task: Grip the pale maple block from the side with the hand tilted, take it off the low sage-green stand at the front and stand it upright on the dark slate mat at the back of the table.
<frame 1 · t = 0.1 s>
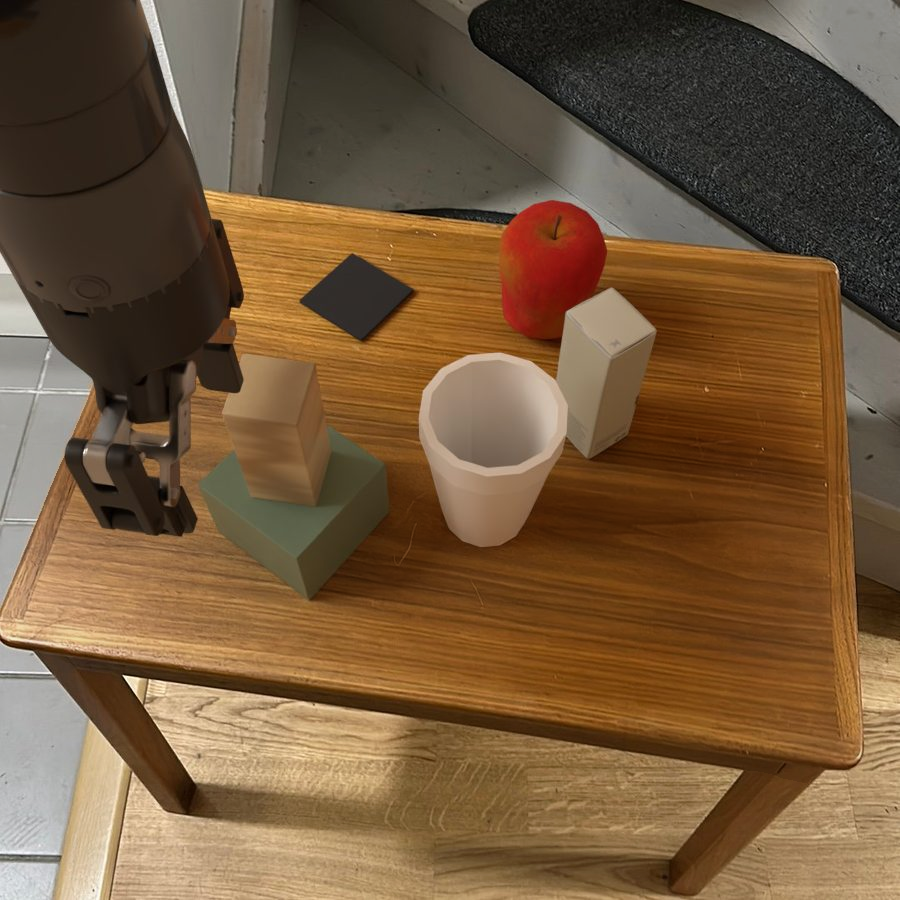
hand: (201, 453, 48), 20 cm above the table, tool pointing down, fingers open, 8 cm apart
stand: (304, 521, 68), on the table
block: (291, 473, 63), point 7 cm above the table, touching stand
box: (586, 427, 73), on the table
foam cup: (484, 510, 69), on the table
apple: (542, 319, 79), on the table
mat: (357, 297, 80), on the table
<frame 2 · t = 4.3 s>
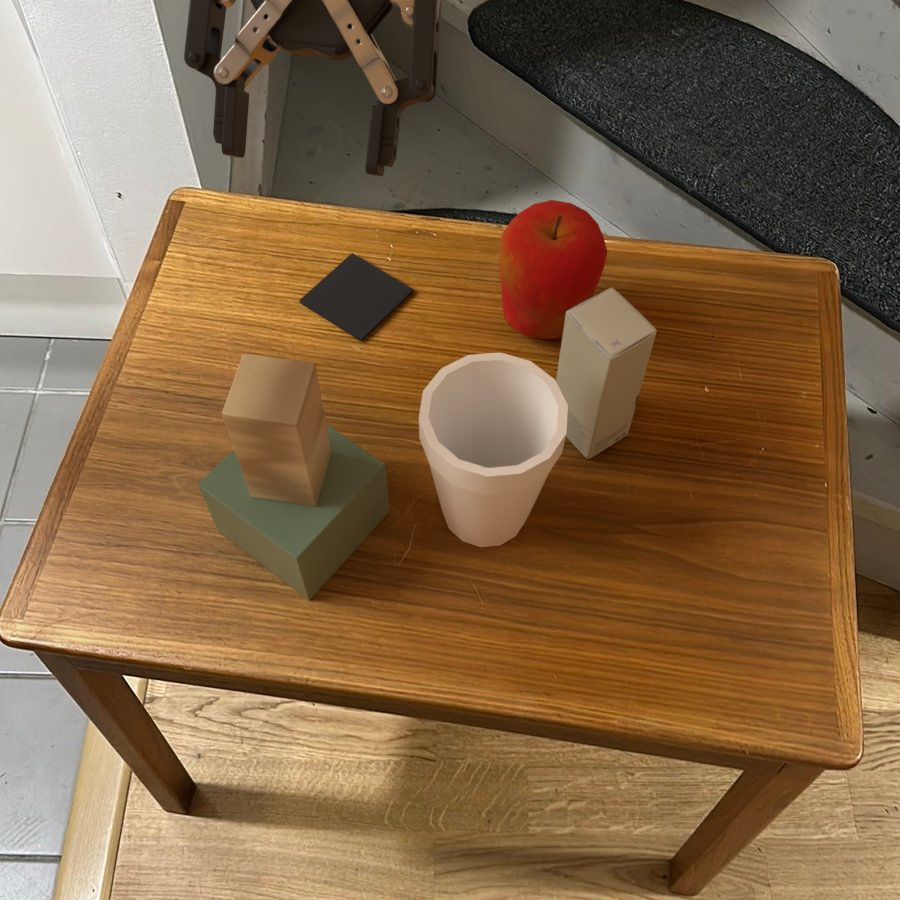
hand: (303, 165, 54), 24 cm above the table, tool tilted 45°, fingers open, 8 cm apart
nothing on the table moved.
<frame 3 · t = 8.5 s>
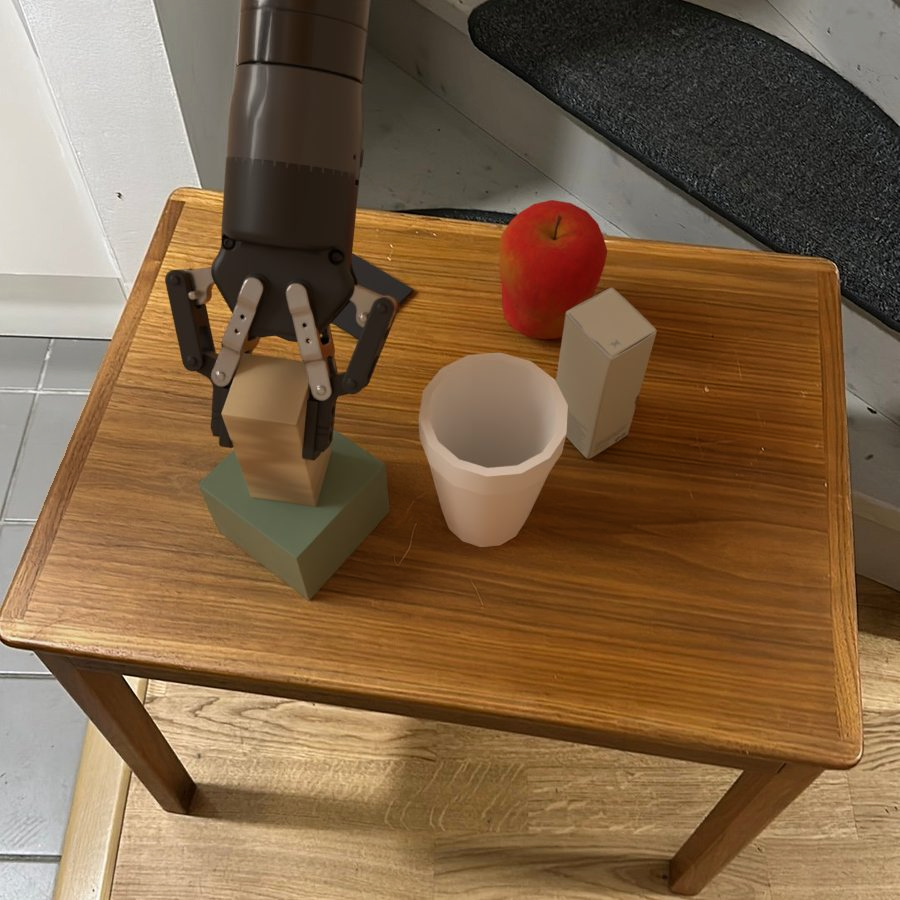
hand: (271, 449, 56), 13 cm above the table, tool tilted 45°, fingers closed on block, 4 cm apart
block: (291, 473, 63), point 7 cm above the table, touching gripper, stand
everything else where it was.
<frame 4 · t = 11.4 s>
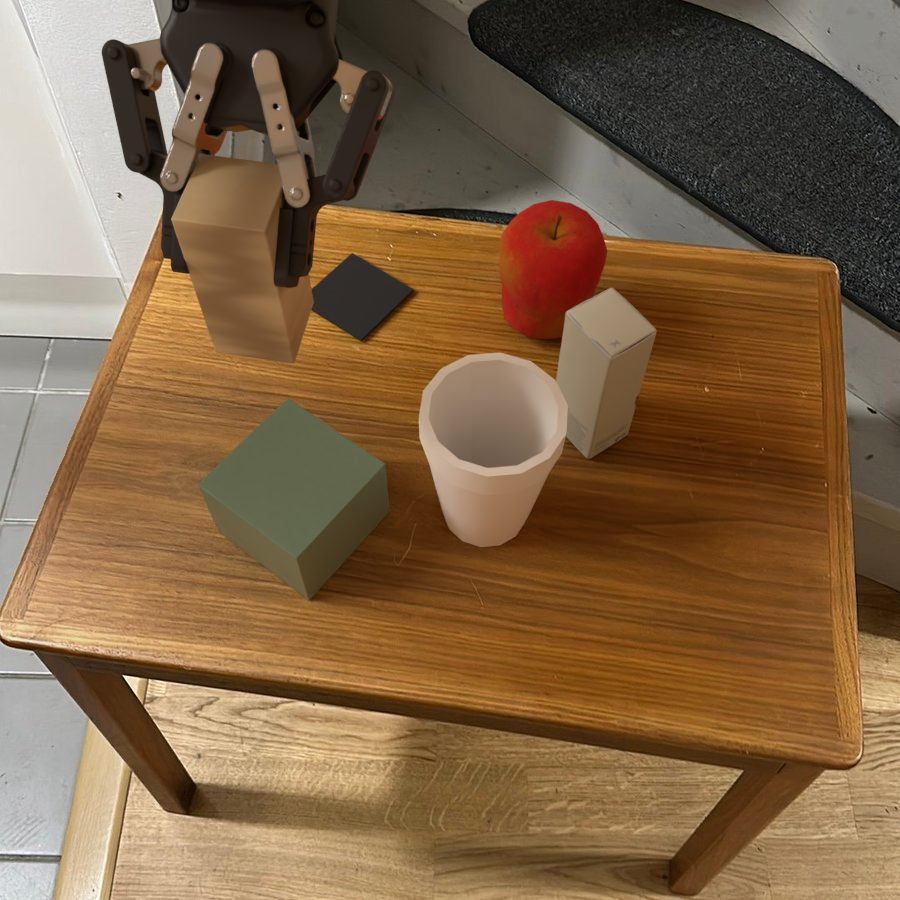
hand: (236, 277, 46), 27 cm above the table, tool tilted 45°, fingers closed on block, 4 cm apart
block: (265, 327, 52), point 21 cm above the table, touching gripper
everything else where it was.
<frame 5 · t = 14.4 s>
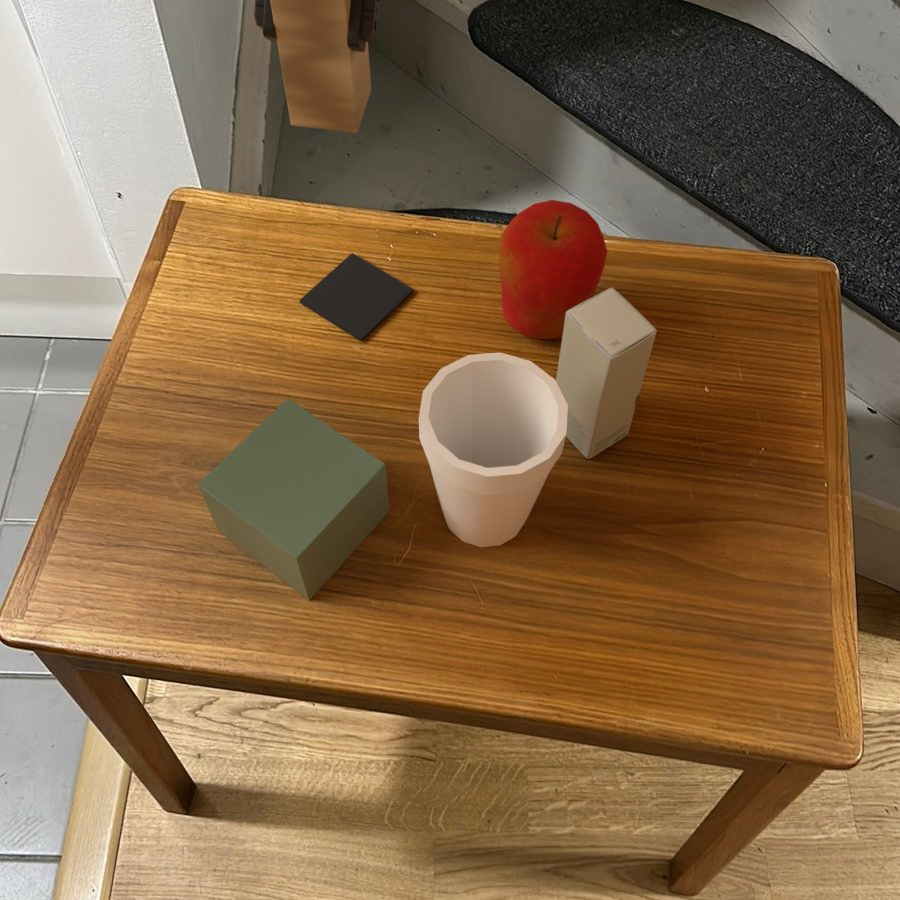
hand: (314, 43, 56), 27 cm above the table, tool tilted 45°, fingers closed on block, 4 cm apart
block: (331, 107, 62), point 21 cm above the table, touching gripper
everything else where it was.
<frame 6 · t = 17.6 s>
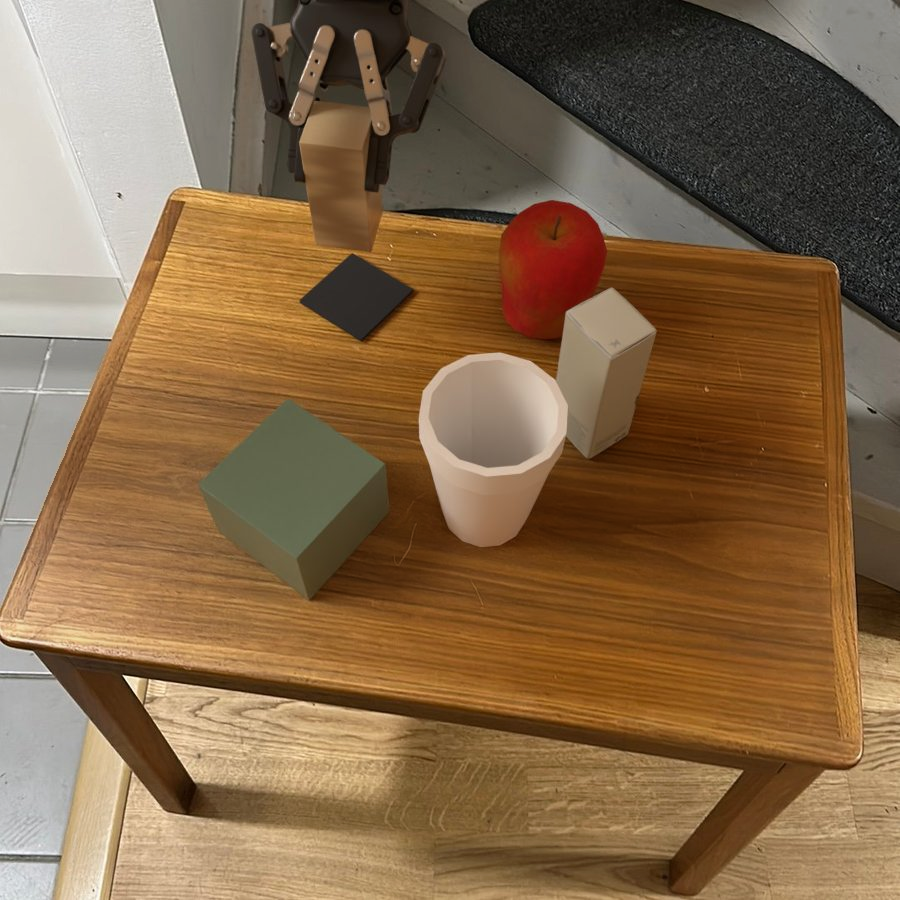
hand: (337, 186, 67), 14 cm above the table, tool tilted 45°, fingers closed on block, 4 cm apart
block: (349, 228, 73), point 8 cm above the table, touching gripper
everything else where it was.
when the fingers open (7 cm above the table, at t = 20.2 s): block stays where it is, resting on mat.
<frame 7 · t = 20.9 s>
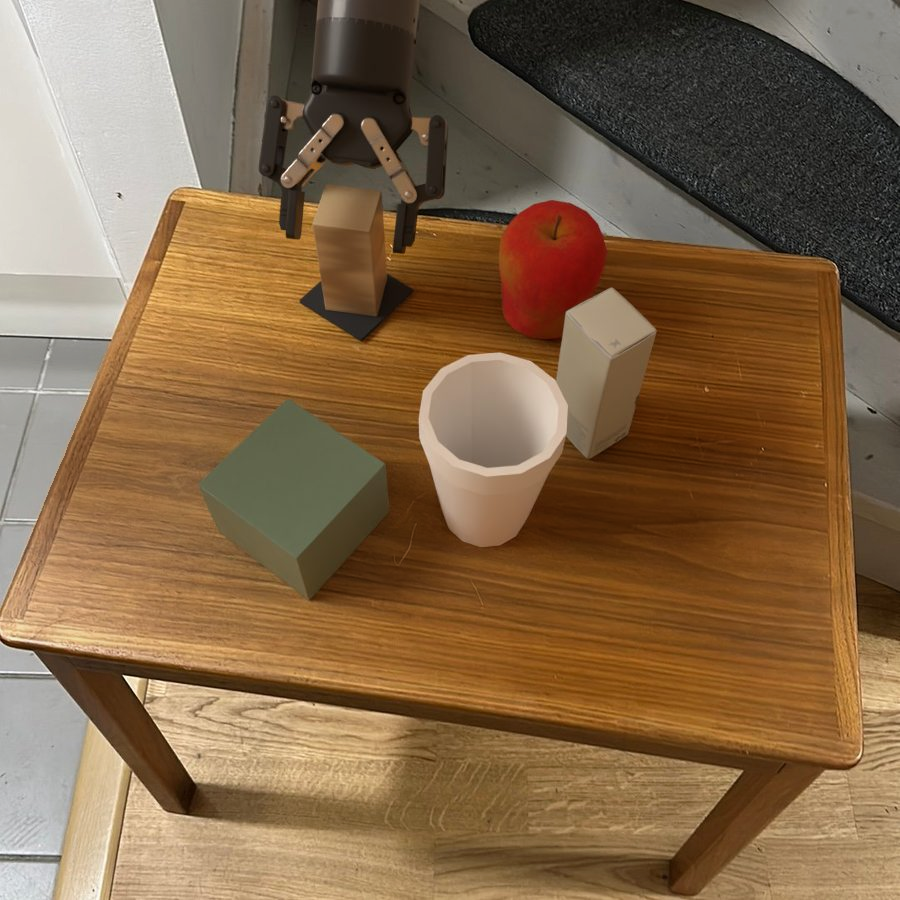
hand: (346, 246, 73), 8 cm above the table, tool tilted 45°, fingers open, 8 cm apart
block: (356, 293, 80), resting on mat
everything else where it was.
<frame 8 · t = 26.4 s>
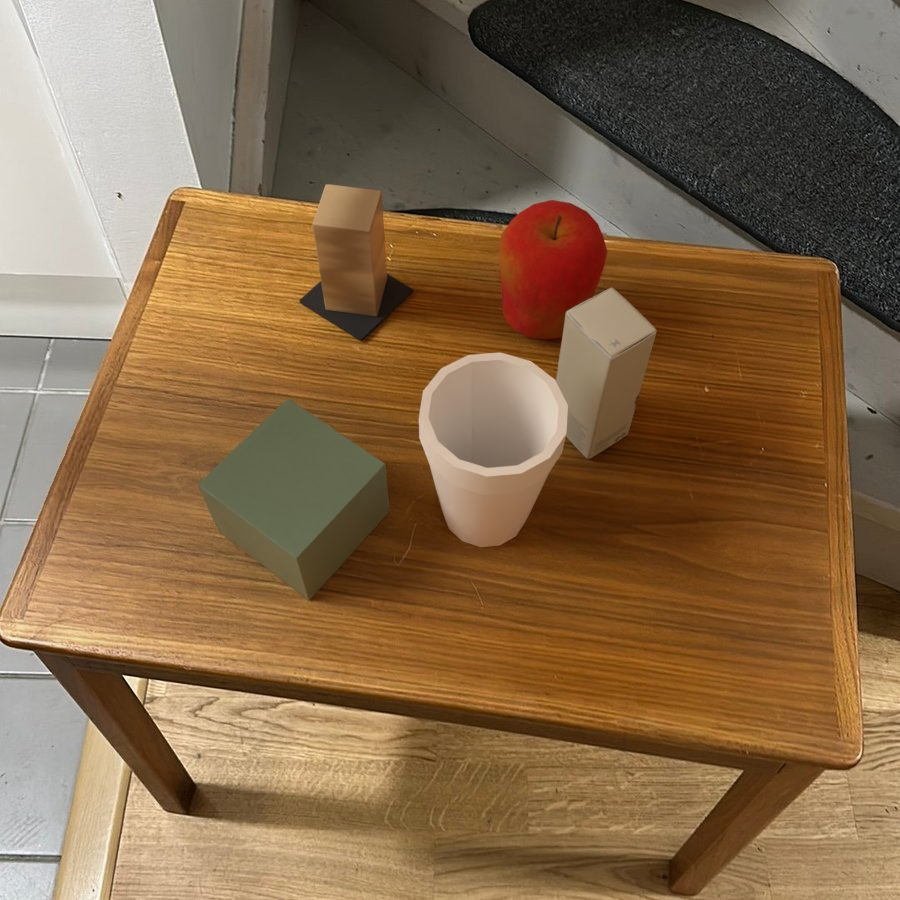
nothing on the table moved.
at the end: block 0.1 cm off-centre on the mat, point 0.4 cm above the mat's base; block tilted 0° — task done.
